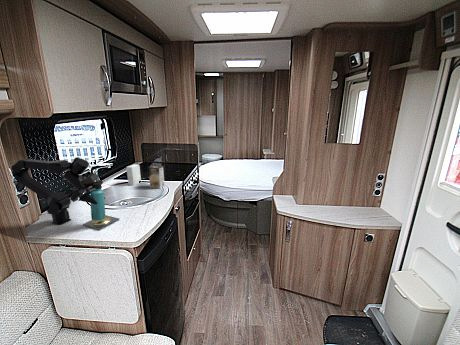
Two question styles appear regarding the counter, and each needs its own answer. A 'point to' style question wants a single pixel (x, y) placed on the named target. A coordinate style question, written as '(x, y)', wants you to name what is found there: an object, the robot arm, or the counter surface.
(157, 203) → the counter surface
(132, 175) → the skincare box
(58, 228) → the counter surface
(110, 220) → the coupling plate
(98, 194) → the beverage bottle
